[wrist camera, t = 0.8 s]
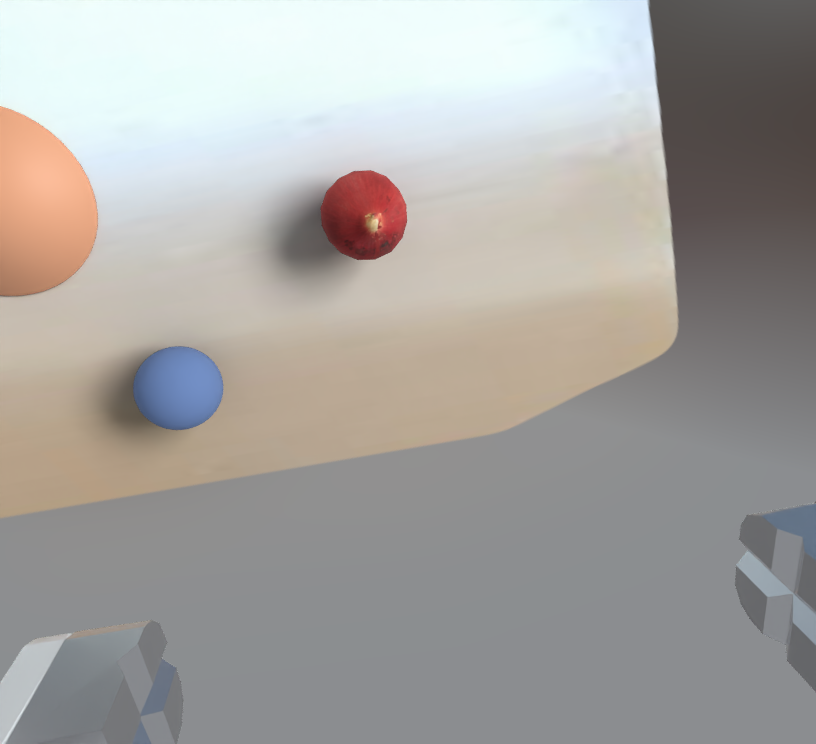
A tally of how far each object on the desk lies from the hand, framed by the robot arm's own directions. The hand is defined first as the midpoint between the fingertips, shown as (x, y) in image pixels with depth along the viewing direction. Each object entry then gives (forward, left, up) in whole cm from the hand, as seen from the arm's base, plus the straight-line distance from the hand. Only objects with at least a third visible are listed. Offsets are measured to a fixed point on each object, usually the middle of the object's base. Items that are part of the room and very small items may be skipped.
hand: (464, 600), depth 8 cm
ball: (+3, -14, -34) cm, 37 cm away
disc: (-13, -14, -37) cm, 42 cm away
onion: (+2, +4, -38) cm, 38 cm away
